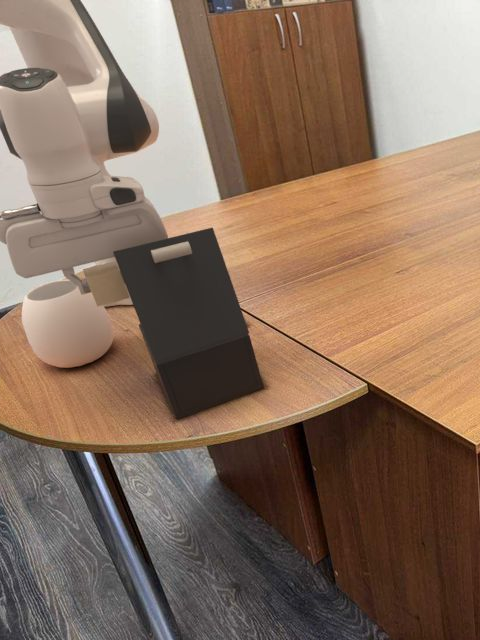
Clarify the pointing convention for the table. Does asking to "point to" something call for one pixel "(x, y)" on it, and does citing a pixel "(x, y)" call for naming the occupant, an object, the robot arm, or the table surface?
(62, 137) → the robot arm
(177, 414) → the dark grey box
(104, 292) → the block
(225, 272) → the lid
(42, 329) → the cream round vase
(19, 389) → the table surface
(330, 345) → the table surface
